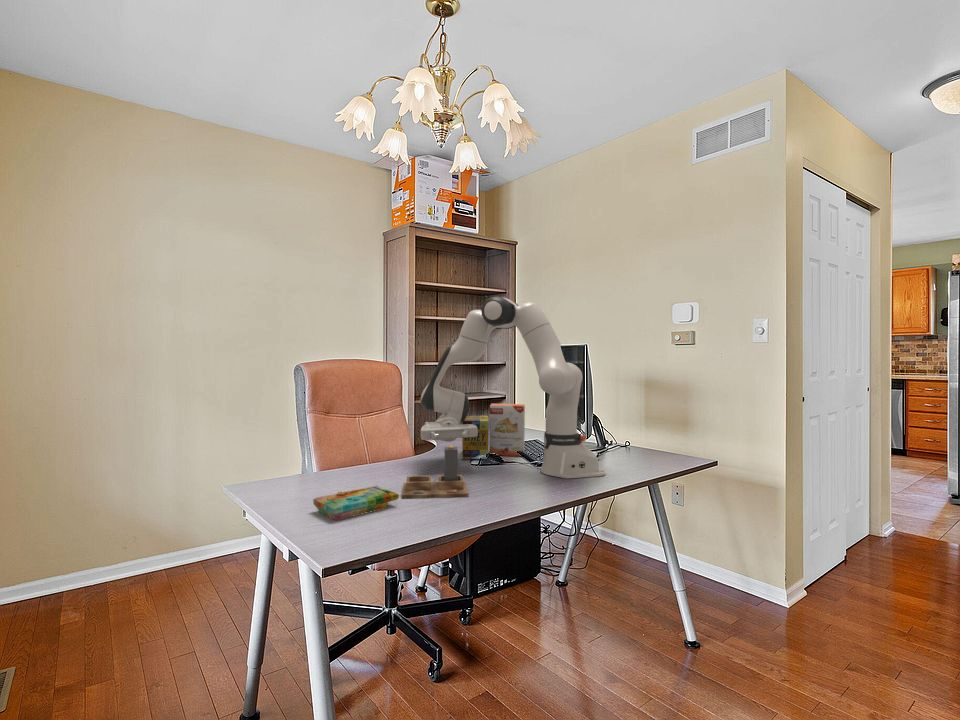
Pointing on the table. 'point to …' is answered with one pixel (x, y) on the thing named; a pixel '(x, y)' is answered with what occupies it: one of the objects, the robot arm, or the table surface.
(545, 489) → the table surface
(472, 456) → the protein box
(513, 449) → the cracker box
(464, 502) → the table surface
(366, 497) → the puzzle game
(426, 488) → the socket board
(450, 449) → the plug
